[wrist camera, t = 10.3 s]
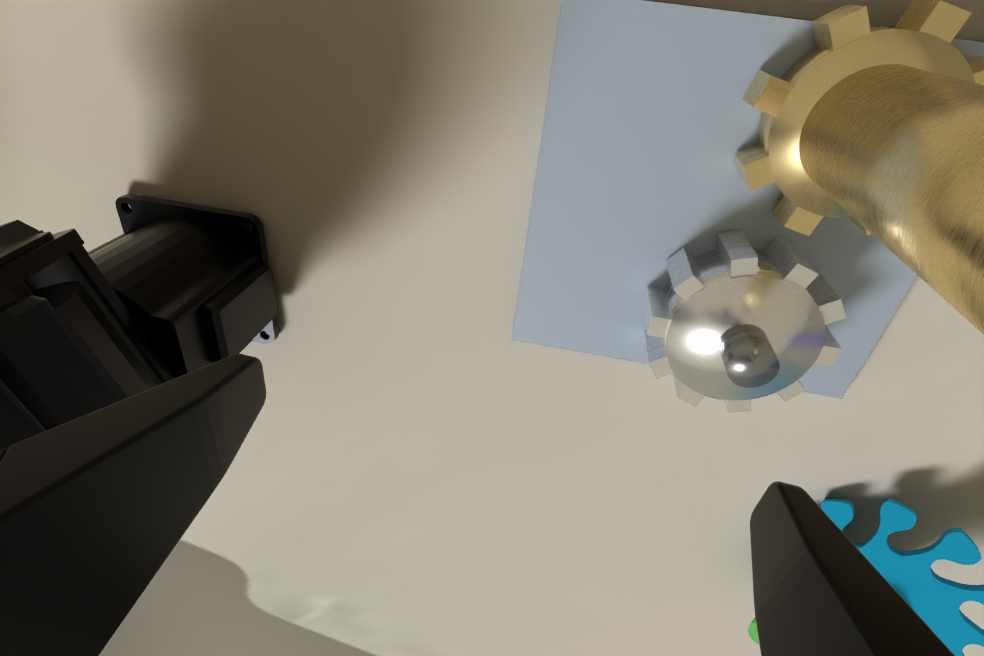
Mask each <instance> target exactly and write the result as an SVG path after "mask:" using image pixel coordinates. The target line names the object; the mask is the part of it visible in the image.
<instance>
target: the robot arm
mask: <svg viewBox="0 0 984 656" xmlns="http://www.w3.org/2000/svg"><path fill="white" fill-rule="evenodd" d="M128 204H129V205H130V206H131V208H132V209H131V208H130V207H129V205H128ZM116 208H117V212H118V215H119V218H120V221H121V225H122V228H123V231H124V234H122V235H120V236H118V237H116V238H115V239H113V240H111V241H109V242H107V243H105V244H103V245H101V246H99V247H97V248H95V249H93V250H91V251H90V252H87V251H86V250H85V248H84V247H83V244H84V241H83V240H82V239H81V237H80V236H79V234H78V233H77V231H76V230H75V229H70V230H66V231H63V232H59V233H55V234H51V232H43V230H41V231H38V230H37V229H35V228H33V227H31V226H29V225H27V224H25V223H23V222H21V221H19V220H16V221H12V222H9V223H5V224H3V225H0V656H98V655H99V654H100V653H101V651H102V650H103V648H104V647H105V645H106V644H107V643H108V641H109V640H110V638H111V637H112V636H113V634H114V633H115V631H116V630H117V628H118V627H119V626H120V624H121V623H122V621H123V620H124V618H125V617H126V615H127V614H128V613H129V611H130V610H131V608H132V607H133V605H134V604H135V603H136V601H137V600H138V598H139V597H140V596H141V594H142V593H143V591H144V590H145V588H146V587H147V586H148V584H149V583H150V581H151V580H152V578H153V577H154V575H155V574H156V573H157V571H158V570H159V568H160V567H161V565H162V564H163V562H164V561H165V560H166V558H167V557H168V556H169V554H170V553H171V551H172V550H173V548H174V547H175V546H176V544H177V543H178V541H179V540H180V539H181V537H182V536H183V534H184V533H185V531H186V530H187V529H188V527H189V526H190V524H191V523H192V521H193V520H194V519H195V517H196V516H197V514H198V513H199V511H200V510H201V509H202V507H203V506H204V504H205V503H206V501H207V500H208V499H209V497H210V496H211V494H212V493H213V491H214V490H215V489H216V487H217V486H218V484H219V483H220V481H221V480H222V478H223V477H224V475H225V473H226V472H227V470H228V468H229V467H230V465H231V463H232V461H233V459H234V458H235V456H236V454H237V452H238V450H239V449H240V447H241V445H242V443H243V441H244V439H245V438H246V436H247V434H248V432H249V430H250V429H251V427H252V425H253V423H254V421H255V420H256V418H257V416H258V414H259V412H260V410H261V409H262V407H263V405H264V402H265V399H266V387H265V380H264V374H263V367H262V363H261V361H260V360H259V359H258V358H256V357H251V356H247V355H243V354H239V353H240V352H241V351H242V350H243V349H244V348H245V347H246V346H247V345H248V344H249V343H250V342H251V341H254V342H259V343H264V344H271V343H273V342H274V341H275V339H276V338H277V337H278V335H279V331H278V324H277V317H276V315H277V314H278V310H277V303H276V296H275V290H274V283H273V276H272V269H271V267H270V265H269V262H268V255H267V249H266V242H265V235H264V228H263V224H262V222H261V221H260V219H259V218H258V217H256V216H255V215H252V214H248V213H242V212H236V211H230V210H224V209H218V208H211V207H205V206H199V205H193V204H187V203H181V202H175V201H169V200H163V199H157V198H151V197H145V196H139V195H133V194H126V195H124V196H121V197H119V198H118V199H117V200H116ZM247 223H248V224H250V225H251V226H252V228H253V230H250V229H249V228H248V226H247ZM265 331H266V332H267V333H268V334H269V335H268V334H266V333H265ZM750 533H751V553H752V572H753V591H754V606H755V617H756V624H757V631H758V637H759V643H760V649H761V655H762V656H955V655H954V654H953V653H952V652H951V651H950V649H949V648H948V647H947V646H946V645H945V644H944V643H943V642H942V641H941V640H940V638H939V637H938V636H937V635H936V634H935V633H934V632H933V631H932V630H931V629H930V627H929V626H928V625H927V624H926V623H925V622H924V621H923V620H922V619H921V618H920V616H919V615H918V614H917V613H916V612H915V611H914V610H913V609H912V608H911V607H910V605H909V604H908V603H907V602H906V601H905V600H904V599H903V598H902V597H901V596H900V594H899V593H898V592H897V591H896V590H895V589H894V588H893V587H892V586H891V585H890V584H889V582H888V581H887V580H886V579H885V578H884V577H883V576H882V575H881V574H880V573H879V571H878V570H877V569H876V568H875V567H874V566H873V565H872V564H871V563H870V562H869V560H868V559H867V558H866V557H865V556H864V555H863V554H862V553H861V552H860V551H859V549H858V548H857V547H856V546H855V545H854V544H853V543H852V542H851V541H850V540H849V538H848V537H847V536H846V535H845V534H844V533H843V532H842V531H841V530H840V529H839V527H838V526H837V525H836V524H835V523H834V522H833V521H832V520H831V519H830V518H829V517H828V515H827V514H826V513H825V512H824V511H823V510H822V509H821V508H820V507H819V506H818V504H817V503H816V502H815V501H814V500H813V499H812V498H811V497H810V496H809V495H808V493H807V492H806V491H805V490H804V489H802V488H801V487H799V486H795V485H791V484H787V483H783V482H773V483H772V484H771V485H770V486H769V487H768V489H767V490H766V492H765V493H764V495H763V496H762V498H761V499H760V501H759V502H758V504H757V506H756V507H755V509H754V510H753V512H752V515H751V520H750Z"/></svg>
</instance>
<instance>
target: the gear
mask: <svg viewBox="0 0 984 656" xmlns="http://www.w3.org/2000/svg"><path fill="white" fill-rule="evenodd" d="M821 509H822V510H823V511H824V512H825V513H826V514H827V515H828V517H829V518H830V519H831V520H832V521H833V522H834V523H835V524H836V525H837V526H838V527H839V529H840V530H841V531H842V532H843V528H844V527H845V526H846V525H847V524H848V523H849V522H850V521H851V520H852V518H853V516H854V514H855V508H854V505H853V503H852V502H851V501H848V500H844V499H825V500H824V501H823V502H822V504H821ZM880 517H881V520H880V526H879V528H878V530H877V531H876V533H875V534H874V535H873V536H872V537H871V538H870V539H868V540H867V541H866V542H864V543H862V544H856V543H853V542H852V543H853V544H854V545H855V546H856V547H857V548H858V549H859V551H860V552H861V553H862V554H863V555H864V556H865V557H866V558H867V559H868V560H869V562H870V563H871V564H872V565H873V566H874V567H875V568H876V569H877V570H878V571H879V573H880V574H881V575H882V576H883V577H884V578H885V579H886V580H887V581H888V582H889V584H890V585H891V586H892V587H893V588H894V589H895V590H896V591H897V592H898V593H899V594H900V596H901V597H902V598H903V599H904V600H905V601H906V602H907V603H908V604H909V605H910V607H911V608H912V609H913V610H914V611H915V612H916V613H917V614H918V615H919V616H920V618H921V619H922V620H923V621H924V622H925V623H926V624H927V625H928V626H929V627H930V629H931V630H932V631H933V632H934V633H935V634H936V635H937V636H938V637H939V638H940V640H941V641H942V642H943V643H944V644H945V645H946V646H947V647H948V648H949V649H950V651H951V652H952V653H953V654H954V655H955V656H964V654H963V652H962V650H963V648H964V647H965V646H966V645H969V644H978V645H981V646H983V647H984V630H983V629H981V628H980V627H979V626H977V625H976V624H975V623H973V622H972V621H971V620H970V619H968V618H967V617H966V616H965V615H964V614H963V613H962V612H961V611H960V609H959V607H960V605H961V604H962V603H963V602H965V601H976V602H979V603H982V604H983V605H984V585H967V584H961V583H957V582H954V581H951V580H948V579H944V578H942V577H940V576H938V575H936V574H935V573H934V572H933V570H932V569H931V564H932V563H933V562H934V561H935V560H938V559H946V560H950V561H953V562H956V563H959V564H964V565H971V564H975V563H977V562H979V561H980V560H981V558H982V557H981V555H980V552H979V550H978V548H977V546H976V545H975V543H974V542H973V541H972V540H971V538H970V537H969V536H968V535H967V534H966V533H965V532H964V531H963V530H962V529H961V528H952V529H949V530H946V531H945V532H944V533H943V535H942V536H941V538H940V539H939V540H938V541H937V542H936V543H934V544H933V545H931V546H929V547H927V548H924V549H920V550H914V551H899V550H897V549H895V548H893V547H892V546H891V545H890V543H889V542H888V539H887V537H888V536H889V535H890V534H891V533H893V532H898V531H905V530H909V529H911V528H912V527H913V526H914V525H915V524H916V521H917V513H916V512H915V511H914V510H912V509H911V508H910V507H908V506H906V505H904V504H902V503H900V502H898V501H896V500H893V499H890V498H889V499H886V500H885V501H884V502H883V503H882V505H881V509H880ZM748 632H749V635H750V637H751V638H752V640H753V641H754V642H756V643H758V644H760V643H759V637H758V631H757V624H756V617H755V618H754V620H753V621H752V623H751V624H750V626H749V628H748Z"/></svg>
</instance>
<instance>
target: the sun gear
mask: <svg viewBox="0 0 984 656" xmlns="http://www.w3.org/2000/svg"><path fill="white" fill-rule="evenodd" d="M666 263H667V267H668V271H669V275H670V280H669V282H668V283H667V285H666V287H665V288H664V289H661V288H655V287H648V286H647V289H646V292H645V296H644V299H643V302H642V307H643V313H644V320H645V327H646V330H644V333H645V340H646V347H647V354H648V361H649V364H650V366H651V368H652V370H653V372H654V374H655V376H656V378H660V377H663V376H666V375H669V374H672V373H673V377H674V382H675V387H676V392H677V397H678V398H679V399H681V400H683V401H685V402H687V403H690V404H692V405H694V406H696V405H697V404H698V403H699V402H700V401H701V400H702V399H703V398H704V397H705V396H708V397H711V398H716V399H721V400H725V403H726V406H727V410H728V412H746V411H751V399H756V398H760V397H764V396H767V395H770V394H773V393H777V394H778V395H779V396H780V397H781V398H782V399H783V400H784V401H785V402H786V401H788V400H790V399H792V398H793V397H795V396H797V395H799V394H801V393H803V392H805V391H806V390H805V388H804V386H803V384H802V382H801V380H800V378H801V377H802V376H803V375H804V374H805V373H806V372H807V371H808V370H809V369H810V368H811V367H812V365H813V364H816V365H822V366H828V367H832V365H833V364H834V362H835V360H836V358H837V357H838V355H839V353H840V351H841V350H842V348H841V347H840V345H839V344H838V342H837V341H836V339H835V338H834V336H833V335H832V333H831V332H830V331H829V329H828V328H827V326H826V324H830V323H833V322H836V321H839V320H842V319H845V318H846V315H845V311H844V308H843V304H842V301H841V298H840V297H839V296H838V295H837V293H836V292H835V291H834V290H833V288H832V287H831V286H830V285H829V283H828V282H827V281H826V279H825V278H824V277H823V276H822V274H821V273H820V272H819V271H818V269H817V268H816V269H815V268H814V267H813V266H812V265H811V263H810V262H809V261H808V259H807V258H806V257H805V256H804V254H803V253H802V252H801V250H800V249H799V248H798V247H797V245H795V244H793V243H791V242H789V241H787V240H785V239H783V238H781V237H779V236H777V237H776V238H775V239H774V240H773V241H772V243H771V244H770V245H769V246H768V247H767V249H766V250H762V249H758V248H753V247H752V246H751V245H750V243H749V241H748V240H747V238H746V236H745V235H744V233H743V231H742V230H738V231H730V232H722V233H718V249H716V250H712V251H710V252H707V253H704V254H702V255H700V256H698V257H696V258H694V257H693V256H692V255H691V254H690V253H689V252H688V251H687V250H686V249H685V248H684V247H683V248H682V249H680V250H679V251H678V252H676V253H675V254H674V255H673V256H671V257H670V258H669V259H667V260H666Z"/></svg>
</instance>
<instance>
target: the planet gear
mask: <svg viewBox="0 0 984 656" xmlns="http://www.w3.org/2000/svg"><path fill="white" fill-rule="evenodd" d="M971 14H972V13H971V12H969V11H966V10H964V9H961V8H959V7H956V6H954V5H951V4H949V3H946V2H944V1H941V0H912V2H911V3H910V5H909V6H908V8H907V9H906V11H905V12H904V14H903V15H902V17H901V18H900V20H899V21H898V23H897V24H896V26H895V27H894V28H889V27H870V24H869V17H868V11H867V6H859V5H844V6H842V7H840V8H838V9H836V10H833V11H831V12H829V13H827V14H825V15H823V16H821V17H819V18H816V19H814V20H812V21H811V23H812V28H813V33H814V38H815V44H816V47H814V48H813V49H811V50H810V51H808V52H807V53H806V54H805V55H803V56H802V57H801V58H800V59H798V60H797V61H796V62H795V63H794V64H793V65H792V66H791V67H790V68H789V69H788V70H787V71H786V72H785V74H784V75H783V76H782V77H781V78H780V77H777V76H775V75H772V74H770V73H767V72H765V71H762V70H759V71H758V72H757V74H756V76H755V78H754V80H753V81H752V83H751V85H750V87H749V89H748V90H747V92H746V94H745V96H744V98H743V100H744V101H746V102H747V103H748V104H749V105H751V106H752V107H753V108H756V109H758V110H761V111H762V114H761V117H760V121H759V126H758V134H757V145H755V146H752V147H750V148H747V149H745V150H742V151H740V152H737V153H735V154H734V156H735V159H736V163H737V166H738V170H739V173H740V177H741V179H742V180H743V182H744V183H745V184H746V186H747V187H748V188H749V190H750V191H754V190H756V189H759V188H762V187H764V186H767V185H770V184H772V183H774V184H775V185H776V186H777V187H778V188H779V189H780V190H781V192H782V193H783V196H782V197H781V199H780V200H779V202H778V203H777V205H776V206H775V208H774V209H773V211H772V212H773V213H774V215H775V216H776V217H777V219H778V220H779V221H780V222H781V224H782V225H783V226H784V227H786V228H789V229H791V230H794V231H797V232H799V233H802V234H805V235H807V236H810V235H811V233H812V232H813V230H814V229H815V228H816V226H817V225H818V224H819V222H820V221H821V219H822V218H823V217H824V216H825V217H831V218H849V219H850V220H851V221H852V222H853V223H854V224H855V225H856V226H857V227H858V228H859V229H860V230H861V231H862V232H864V233H865V234H866V235H870V234H872V235H874V236H875V237H876V238H877V239H878V240H879V241H880V242H881V243H883V244H884V245H885V246H886V247H887V248H888V249H889V250H890V251H891V252H893V253H894V254H895V255H896V256H897V257H898V258H899V259H900V260H901V261H903V262H904V263H905V264H906V265H907V266H908V267H909V268H910V269H911V270H913V271H914V272H915V273H916V274H917V275H918V276H919V277H920V278H922V279H923V280H924V281H925V282H926V283H927V284H928V285H929V286H930V287H932V288H933V289H934V290H935V291H936V292H937V293H938V294H939V295H940V296H942V297H943V298H944V299H945V300H946V301H947V302H948V303H949V304H950V305H952V306H953V307H954V308H955V309H956V310H957V311H958V312H959V313H961V314H962V315H963V316H964V317H965V318H966V319H967V320H968V321H969V322H971V323H972V324H973V325H974V326H975V327H976V328H977V329H978V330H979V331H981V332H982V333H983V334H984V57H980V56H972V57H970V58H967V59H965V57H964V56H963V55H962V54H961V53H960V52H959V51H958V50H957V49H956V48H955V47H954V46H953V45H951V44H950V42H951V41H952V40H953V38H954V37H955V36H956V34H957V33H958V31H959V30H960V29H961V27H962V26H963V25H964V23H965V22H966V20H967V19H968V18H969V16H970V15H971Z"/></svg>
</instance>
